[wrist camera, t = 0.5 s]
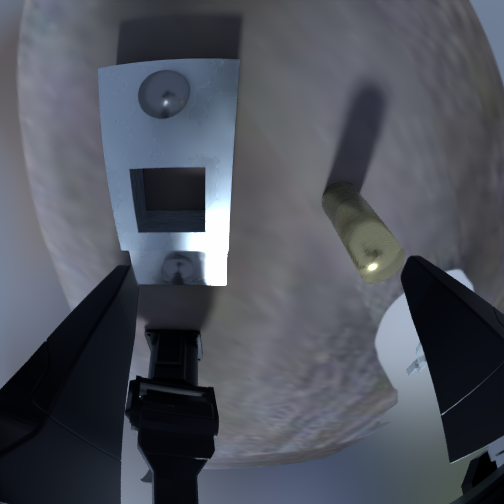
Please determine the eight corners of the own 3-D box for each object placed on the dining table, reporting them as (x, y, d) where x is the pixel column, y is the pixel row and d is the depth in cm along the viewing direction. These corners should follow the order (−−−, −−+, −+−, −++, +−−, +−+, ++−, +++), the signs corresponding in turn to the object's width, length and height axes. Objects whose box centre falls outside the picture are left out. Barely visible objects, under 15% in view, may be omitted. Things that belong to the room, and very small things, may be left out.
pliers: (466, 327, 40) (430, 368, 49) (462, 321, 41) (428, 363, 50) (430, 338, 39) (396, 379, 48) (427, 331, 40) (393, 373, 49)
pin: (352, 217, 23) (393, 282, 17) (318, 215, 23) (352, 284, 17) (361, 183, 21) (412, 243, 15) (326, 180, 21) (369, 242, 15)
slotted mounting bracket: (225, 273, 26) (226, 303, 23) (140, 272, 25) (132, 301, 22) (237, 59, 15) (241, 59, 12) (115, 65, 14) (94, 69, 11)
